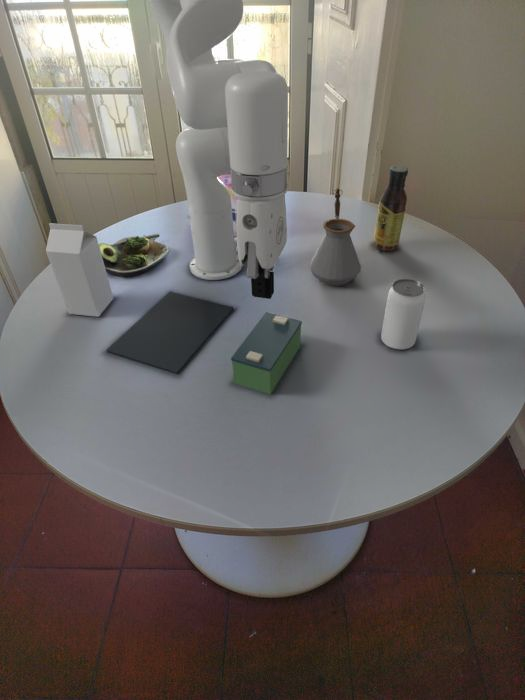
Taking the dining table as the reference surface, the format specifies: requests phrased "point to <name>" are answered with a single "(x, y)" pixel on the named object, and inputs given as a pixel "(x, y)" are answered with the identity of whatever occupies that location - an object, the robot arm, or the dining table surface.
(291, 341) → the box
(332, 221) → the coffee pot
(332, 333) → the dining table surface
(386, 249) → the sauce bottle
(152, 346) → the placemat
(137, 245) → the salad plate
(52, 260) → the milk carton
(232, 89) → the robot arm
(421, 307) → the can
